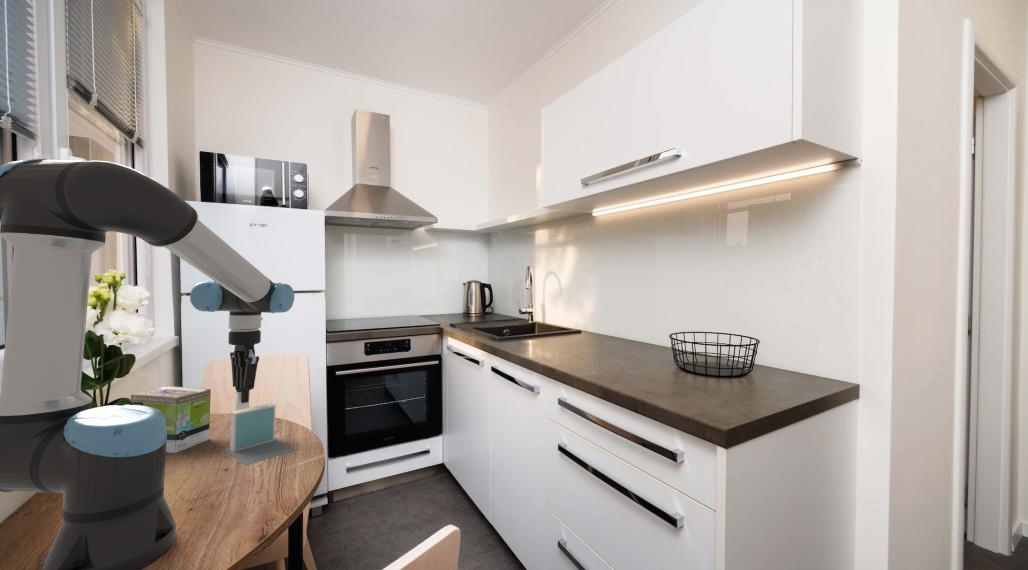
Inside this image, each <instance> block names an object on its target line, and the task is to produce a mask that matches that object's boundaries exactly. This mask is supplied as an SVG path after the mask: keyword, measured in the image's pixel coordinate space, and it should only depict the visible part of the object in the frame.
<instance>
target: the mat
mask: <svg viewBox="0 0 1028 570" xmlns="http://www.w3.org/2000/svg"><path fill="white" fill-rule="evenodd" d="M297 450H298V448H295V447H294V446H292V445H290V444H288V443H286V442H284V441H282V440H280V439H278V438H277V437H274V441H271V442H267V443H264V444H260V445H257V446H253V447H249V448H246V449H242V450H239V451H235V452H232V451H231V450H230V448H226V449H224V450H223V451H224V452H225V453H228V455H230V456H231V457H233V458H235V459H236V460H237V461H240V462H241V463H242V464H244V465H245V466H250V465H252V464H255V463H256V464H257V463H258V462H262V461H265V460H268V459H271V458H275V457H278V456H281V455H285V454H288V453H291V452H294V451H297Z"/></svg>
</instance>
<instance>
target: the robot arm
mask: <svg viewBox="0 0 1028 570" xmlns="http://www.w3.org/2000/svg"><path fill="white" fill-rule="evenodd" d="M109 232H114V233H120V234H124V235H125V234H126V235H130V236H133V237H136V238H138V239H141V240H143V241H144V242H145V243H147V244H148V245H150V246H153V247H157V248H165V249H167V250H168V251H169V252H171V253H172V254H174V255H175V256H177V257H178V258H180V259H181V260H182V261H185V263H187V264H189V265H190V266H192V267H193V268H195V269H196V270H197V271H199V272H200V273H202V274H203V275H205V276H206V277H208V278H209V279H211V280H208V281H201V282H198V283H196V284H195V285H194V286H193V287H191V291H190V294H189V297H190V298H189V300H190V303H191V305H192V307H193V308H194V309H195V310H197V311H199V312H205V313H206V312H208V313H214V312H215V313H216V312H229V315H228V329H229V331H228V340H227V341H228V345H230V346H234V351H233V352H230V353H229V357H230V363H231V377H232V387H233V388H235V390H236V392H235V393H236V397H235V399H236V400H235V411H237V410H242V409H246V408H250V394H251V393H250V391H251V390H253V389H255V385H256V384H255V382H256V375H257V369H258V363H259V361H260V356H258V355H257V356H256V351H255V345H257V344H260V343H261V340H262V339H261V337H262V336H261V335H262V331H261V330H260V329H261V327H262V321H263V317H262V313H268V314H276V313H279V314H280V313H287V312H288V311H290V310H291V309H292V307H293V306H294V305H293V304H294V302H295V292H294V289H293V287H292V286H291V285H289V284H287V283H281V282H277V283H276V282H273V281H272V280H271V279H270V278H268V276H266V275H265V274H263V273H262V272H261V271H260V270H259V269H257V267H255V266H254V265H253V264H251V263H250V261H248V260H247V259H246V258H245V257H244V256H242V255H241V254H240V253H239V252H237V250H235V249H234V248H233V247H231V246H230V245H229V244H228V243H227V242H226V241H225V240H223V239H222V238H221V237H220V236H218V235H217V234H216V233H215V232H214V231H212V230H211V229H210V228H209V227H207V226H206V224H204V223H203V222H202V221H201V220H200V219H199V214H198V211H197V210H196V209H195V208H194V207H193V206H192V205H191V204H189V203H188V202H187V201H186V200H185V199H183V198H182V197H181V196H180V195H178V194H177V193H175V192H174V191H173V190H171V189H170V188H169V187H167V186H165V185H163V184H162V183H161V182H159V181H157V180H156V179H154V178H152V177H150V176H148V175H146V174H144V173H143V172H140V171H139V170H136V169H134V168H131V167H129V166H125V164H120V163H116V162H111V161H105V160H66V159H63V160H62V159H46V158H32V159H26V160H16V161H15V160H14V161H10V162H7V163H4V164H2V165H0V237H1V238H2V239H4V240H5V241H6V242H7V243H8V244H10V245H11V246H12V247H13V254H12V255H13V257H12V268H11V276H10V277H11V279H10V288H9V301H8V311H7V322H6V332H5V342H4V350H3V351H4V353H3V364H2V371H1V372H2V374H1V382H0V383H1V384H0V385H1V386H0V493H1V492H2V493H12V492H21V493H22V492H24V493H27V492H29V493H48V494H50V493H51V494H63V496H62V498H63V500H62V522H61V525H60V526H59V529H58V532H57V534H56V536H55V538H54V540H53V542H52V545H51V547H50V549H49V551H48V554H47V556H46V557H45V560H44V562H43V563H44V564H43V570H140V569H142V568H144V567H146V566H147V565H149V564H151V563H153V562H154V561H156V560H157V559H158V558H160V557H162V556H163V555H164V554H165V553H167V551H168V550H170V548H171V547H172V546H173V545H174V543H175V540H176V536H177V535H176V533H177V531H176V530H177V525H176V520H175V519H174V517H173V513H172V511H171V510H170V507H169V505H168V503H167V500H166V498H165V492H164V491H165V477H166V476H165V474H166V472H165V471H166V455H167V452H166V439H167V431H166V426H165V417H164V415H163V414H162V413H161V412H160V411H159V410H157V409H155V408H152V407H148V406H142V405H130V404H123V405H117V404H114V405H113V404H112V405H103V406H98V407H92V406H93V398H92V397H91V396H89V395H88V394H87V393H84V392H83V391H82V389H81V387H82V376H83V375H82V374H83V365H84V364H83V363H84V351H85V342H86V341H85V340H86V338H85V337H86V328H87V319H88V318H87V315H88V302H89V291H90V281H91V280H90V278H91V268H92V257H93V254H94V253H95V252H96V251H98V250H100V249H101V248H102V247H104V246H106V238H107V237H106V235H107V233H109Z"/></svg>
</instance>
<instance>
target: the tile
mask: <svg viewBox="0 0 1028 570" xmlns="http://www.w3.org/2000/svg"><path fill="white" fill-rule="evenodd" d="M229 423H230V424H229V425H230V429H229V449H230V450H231V451H232V452H235V451H239V450H242V449H246V448H249V447H253V446H257V445H260V444H264V443H267V442H271V441H274V438H275V428H276V404H275V403H272V402H271V403H270V402H269V403H266V404H262V405H261V404H260V405H256V406H252V407H251V406H250V407H249V408H246V409H242V410H237V411H236V410H232V411H230V421H229Z"/></svg>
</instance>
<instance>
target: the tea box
mask: <svg viewBox="0 0 1028 570" xmlns="http://www.w3.org/2000/svg"><path fill="white" fill-rule="evenodd" d="M211 392H212V391H211V389H210V388H199V387H186V386H173V385H172V386H171V385H167V386H161V387H158V388H153V389H149V390H144V391H139V392H136V393H132V394H130V402H131V401H132V402H133V403H134V404H136V405H142V406H148V407H152V408H155V409H157V410H159V411H160V412H161V413H162V414H163V415H164V417H165V426H166V431H167V439H166V453H169V454H177V453H179V452H182V451H184V450H187V449H188V448H192V447H194V446H196V445H199V444H201V443H204V442H206V441H208V440H210V425H211V423H210V421H211V419H210V418H211V394H212V393H211Z"/></svg>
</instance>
